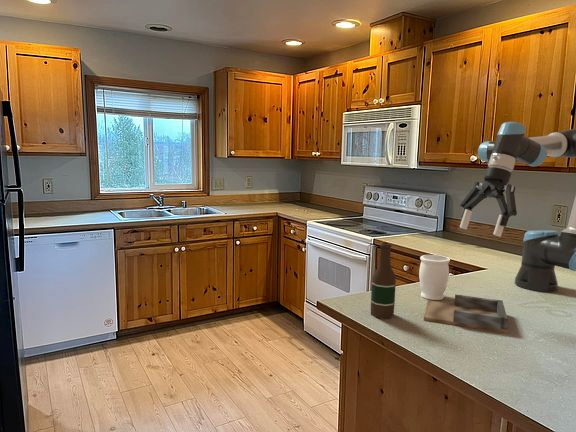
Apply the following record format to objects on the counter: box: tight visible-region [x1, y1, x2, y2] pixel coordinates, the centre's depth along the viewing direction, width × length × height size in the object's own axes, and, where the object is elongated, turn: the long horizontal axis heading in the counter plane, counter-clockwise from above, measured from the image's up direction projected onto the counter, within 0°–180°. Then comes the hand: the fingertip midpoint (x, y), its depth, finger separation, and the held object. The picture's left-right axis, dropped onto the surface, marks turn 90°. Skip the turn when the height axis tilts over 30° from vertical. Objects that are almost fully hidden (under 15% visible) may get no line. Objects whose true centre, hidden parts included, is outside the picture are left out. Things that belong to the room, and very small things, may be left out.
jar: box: [418, 254, 451, 301], centre depth 156 cm, size 11×10×15 cm
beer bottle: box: [370, 242, 397, 320], centre depth 137 cm, size 8×8×24 cm
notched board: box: [423, 294, 509, 334], centre depth 138 cm, size 24×17×4 cm
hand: (479, 232), depth 137 cm, fingers open, 13 cm apart
